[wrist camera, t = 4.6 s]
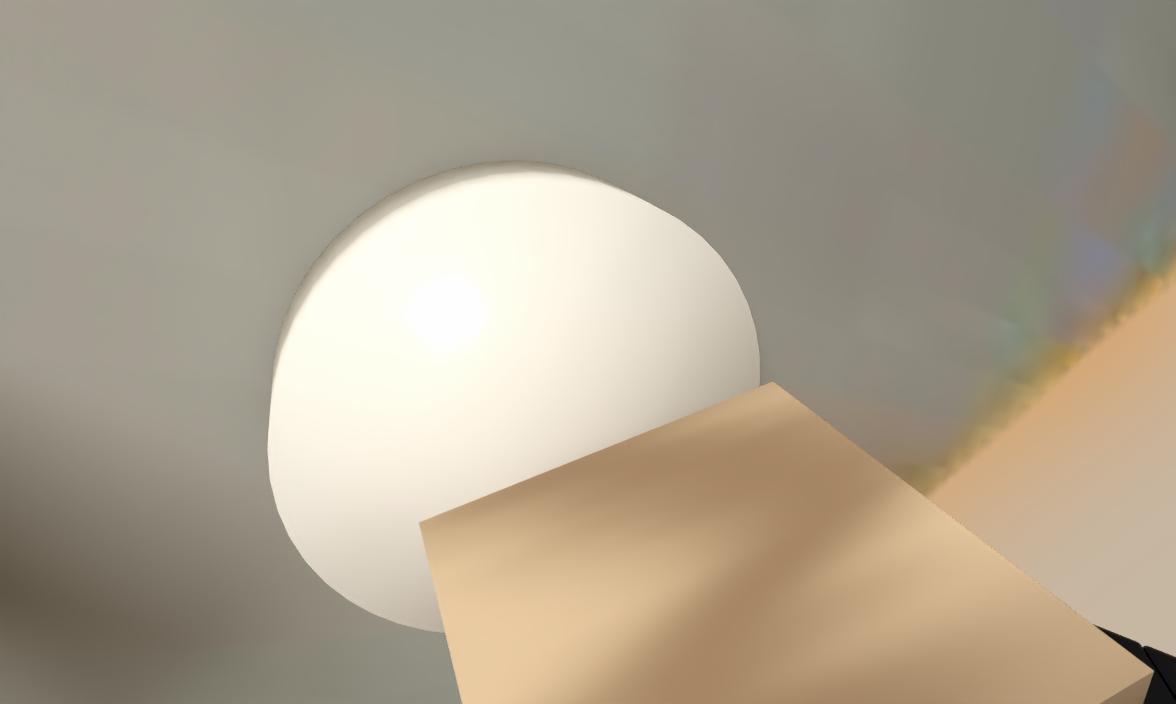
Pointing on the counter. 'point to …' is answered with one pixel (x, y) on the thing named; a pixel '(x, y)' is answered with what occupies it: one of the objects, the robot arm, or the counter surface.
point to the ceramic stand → (484, 359)
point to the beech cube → (749, 582)
